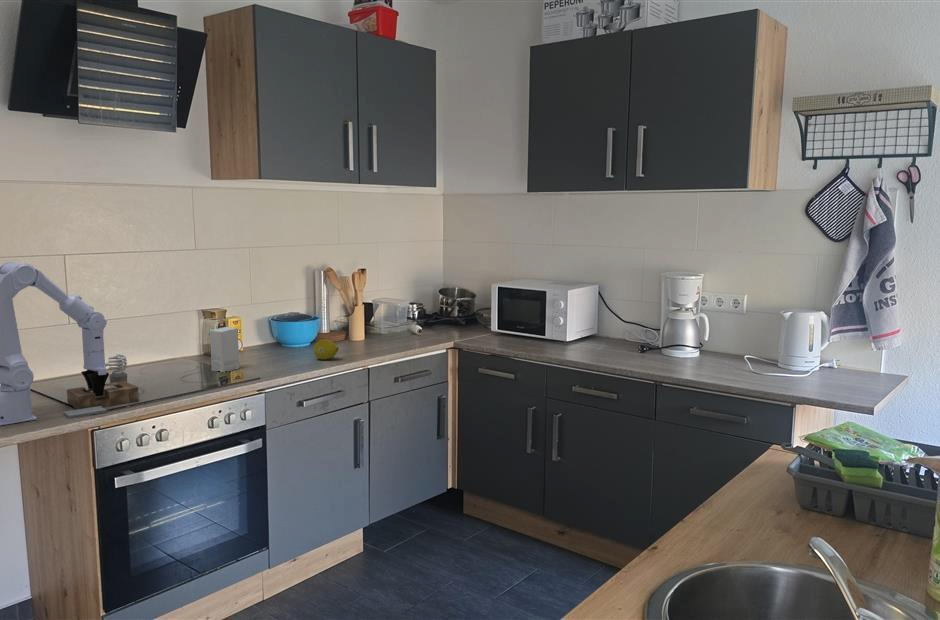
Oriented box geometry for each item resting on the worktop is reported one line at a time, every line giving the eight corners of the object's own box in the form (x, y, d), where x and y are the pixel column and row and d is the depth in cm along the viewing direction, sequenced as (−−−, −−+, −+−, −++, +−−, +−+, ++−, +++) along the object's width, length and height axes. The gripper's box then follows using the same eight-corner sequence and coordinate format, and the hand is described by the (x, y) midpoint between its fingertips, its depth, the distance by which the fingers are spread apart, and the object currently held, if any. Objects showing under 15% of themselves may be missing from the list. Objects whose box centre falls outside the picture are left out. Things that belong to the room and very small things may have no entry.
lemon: (308, 359, 297) (308, 340, 296) (322, 356, 303) (322, 337, 302) (328, 362, 291) (328, 342, 290) (342, 359, 297) (342, 339, 296)
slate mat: (69, 418, 211) (69, 415, 211) (63, 414, 215) (63, 411, 215) (106, 412, 218) (106, 409, 218) (100, 408, 222) (100, 405, 222)
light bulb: (118, 392, 242) (116, 356, 240) (105, 391, 244) (103, 355, 242) (132, 389, 247) (130, 353, 245) (119, 387, 249) (117, 352, 247)
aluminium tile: (89, 399, 225) (89, 391, 224) (85, 396, 228) (85, 389, 227) (117, 394, 230) (117, 387, 230) (113, 392, 233) (112, 385, 233)
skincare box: (228, 367, 283) (226, 326, 281) (240, 369, 279) (239, 327, 277) (210, 371, 275) (208, 329, 273) (222, 373, 272) (221, 330, 270)
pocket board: (79, 411, 219) (78, 396, 219) (67, 403, 228) (66, 389, 227) (138, 401, 231) (138, 387, 230) (125, 394, 239) (124, 381, 239)
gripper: (115, 352, 223) (118, 396, 225) (100, 346, 234) (102, 388, 236) (90, 355, 219) (93, 400, 220) (75, 348, 229) (78, 392, 231)
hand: (96, 394), depth 228 cm, fingers closed on aluminium tile, 4 cm apart
